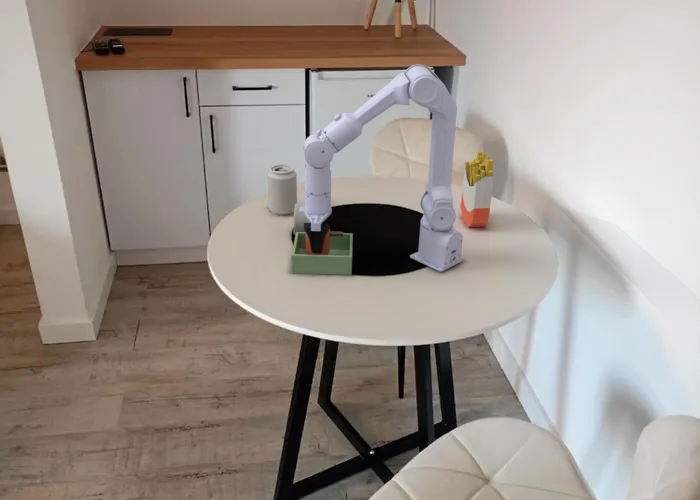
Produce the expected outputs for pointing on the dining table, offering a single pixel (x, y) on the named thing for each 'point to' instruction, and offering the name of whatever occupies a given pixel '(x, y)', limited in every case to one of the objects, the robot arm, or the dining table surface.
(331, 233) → the pot
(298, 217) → the ceramic mug
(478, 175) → the french fries container
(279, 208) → the can
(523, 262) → the dining table surface
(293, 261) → the drawer
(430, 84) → the robot arm
